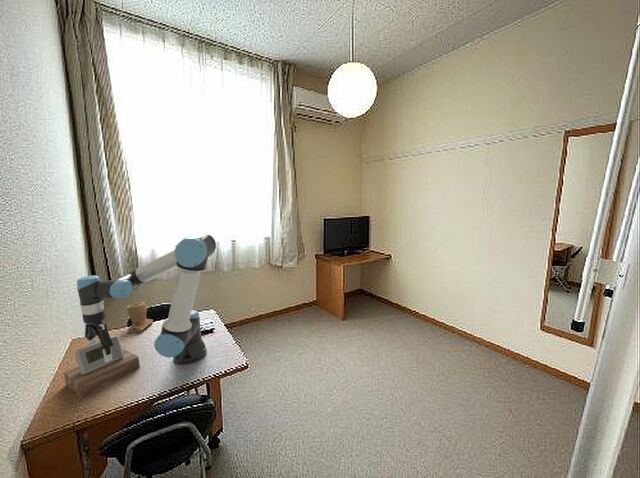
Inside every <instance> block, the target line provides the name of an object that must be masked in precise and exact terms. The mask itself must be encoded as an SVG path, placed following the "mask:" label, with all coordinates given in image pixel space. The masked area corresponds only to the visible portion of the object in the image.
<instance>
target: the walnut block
mask: <svg viewBox="0 0 640 478" xmlns="http://www.w3.org/2000/svg"><path fill="white" fill-rule="evenodd" d="M122 350H123V353H124V357H123V358H121V359H119V360H116V362H114V363H111V364H109V365H107V366H105V367H102V368H100V369H98V370H96V371H94V372H90V373H88V374H85V375H82V374H81V373H80V369H79V366H76V367H73V368H72V369H69V370H67V371H64V372H63V376H64V381H65V384H66V385H65V386H67V388H69V389H71V391H73V392H74V393H75V394H77V395H78V396H79V397H80V398H82V399H84V398H86V397H87V396H90V395H92V394H93V393H95V392H98V391H99V390H101V389H103V388H105V387H107V386H108V385H111V384H112V383H115V382H116V381H118V380H120V379H122V378H124V377H126V376H128V375H129V374H131V373H133V372H135V371H137V370H139V369H140V368H141V366H140V360H139V356H138V355H136V354H134V353H133V352H131V351H128V350H126V349H125V348H123V347H122Z"/></svg>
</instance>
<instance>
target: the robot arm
mask: <svg viewBox="0 0 640 478" xmlns="http://www.w3.org/2000/svg"><path fill="white" fill-rule="evenodd" d="M216 248H217V242H216V239H215V238H214V237H213V236H212V235H211V234H209V233H206V232H198V233H196V234H193V235H191V236H186V237H184V238H183V239H181V240H180V241H179V242H178V243H177V244H176V247H175V249H172V251H170V252H168V253H166V254H164V255H162V256H160V257H158V258H155V259H153V260H151V261H149V262H148V263H145V264H144V265H143V264H142V266H139V267H137V268H136V269H133V270H131V271H129V272H127V273H125V274H122V275H120V276H118V277H115V279H111V280H101V279H100V277H99V275H87V276H86V275H85V276H82V277H80V278H77V281H76V287H77V289H76V290H77V293H78V297H79V304H80V310H81V314H82V322H83V323H85V325H84V327H85V328H84V338H86V339H87V343H88V344H87V345H90V344H92V343H95V342H97V338H98V341H100V342H101V344H102V346H103V348H102V350H103V355H104V361H105V363H106V362H108V361H110V360H113V358H112V352H111V346H113V343H112V341H111V338H110V337H111V336H110V332H109V331H108V327H107V323H103V322H102V321H103V320H104V319H106V311H105V306H104V303H105V301H104V299H124V298H128V297H129V296H130V295H131V293H132V292H133V289H135V288H137V287H139V286H141V285H143V284H145V283H147V282H149V281H151V280H153V279H155V278H157V277H159V276H162V275H163V274H166V273H167V272H170V271H171V270H174V269H176V268H178V271H177V272H178V273H177V277H176V282H175V286H174V290H173V295H172V300H171V304H170V308H169V312H168V318H167V319H164V321H163V322H162V326H161V331H160V334H159V335H158V336H156V339H155V340H154V342H153V343H154V344H153V345H154V349H155V351H156V352H157V353H158V354H159V355H160V356H161V357H165V358H173V362H174V363H176V364H178V365H187V364H192V363H195V362H198V361H200V360H201V359H203V358H204V357H205V356H206V354H207V346H206V344H205V342H204V340H203V339H202V332H201V331H202V330H201V318H200V313H199V311H197V310H195V309H193V306H194V303H195V298H196V294H197V289H198V287H199V281H200V277H201V273H202V272H204V271H205V270H206V268H207V264H208V259H209V258H210V257H211V256H213V254H214V253H215V251H216ZM96 337H97V338H96Z"/></svg>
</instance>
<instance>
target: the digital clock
mask: <svg viewBox="0 0 640 478" xmlns="http://www.w3.org/2000/svg"><path fill="white" fill-rule="evenodd" d="M110 338H111V341H112V343H113V346H111V352H112V358H113V360H110V361H108V362H106V363H105V361H104V355H103V350H102V348H103V346H102V344H101V342H100V340H98V341H96V342H95V343H92V344H90V345H89V344H87V345H86V346H84V347H81V348H78V349H76V350H75V351H74V355H75V358H76V363H77V365H78V366H79V369H80V373H81V374H82V375H85V374H88V373H90V372H94V371H96V370H98V369H100V368H102V367H105V366H107V365H109V364H111V363H114V362H116V360H119V359H121V358H123V357H124V353H123V350H122V348H123V347H122V344H121V341H120V337H119V335H118V334H114V335H112V336H110ZM78 366H77V367H78Z"/></svg>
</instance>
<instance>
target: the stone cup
mask: <svg viewBox="0 0 640 478" xmlns="http://www.w3.org/2000/svg"><path fill="white" fill-rule="evenodd" d="M126 311H127V312H126V313H127V314H128V317H129V318H130V321H131V323H132V325H130V326H129V327H128V328H127V331H129V332H131V333H139V332H142V331H144V329H146V328H147V327H148V326H149V325H151V324H152V322H154V320H153V319H152V318H147V311H148V309H147V306H146V303H145V302H144V301H140V302H136V303H135V302H134V303H133V304H129V305H128V306H127V307H126Z"/></svg>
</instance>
